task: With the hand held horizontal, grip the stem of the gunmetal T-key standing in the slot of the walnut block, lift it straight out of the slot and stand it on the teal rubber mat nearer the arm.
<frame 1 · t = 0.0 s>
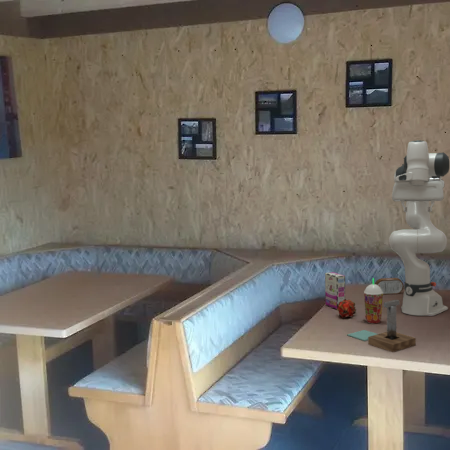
hand: (417, 211, 268), 52 cm above the table, tool tilted 20°, fingers open, 8 cm apart
dragon fruit: (346, 317, 308), on the table
gunmetal T-key: (391, 323, 264), in the walnut key-slot block
candy bar box: (335, 307, 325), on the table
smoothie: (373, 322, 298), on the table
walnut key-slot block: (391, 344, 266), on the table
digital desk clock: (389, 294, 346), on the table
teal rubber mat: (364, 335, 278), on the table
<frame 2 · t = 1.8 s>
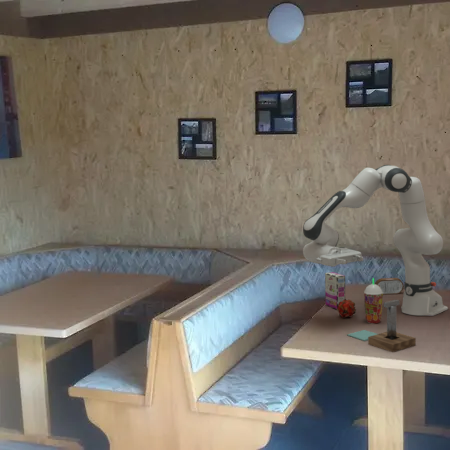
hand: (354, 260, 283), 30 cm above the table, tool horizontal, fingers open, 8 cm apart
nothing on the table moved.
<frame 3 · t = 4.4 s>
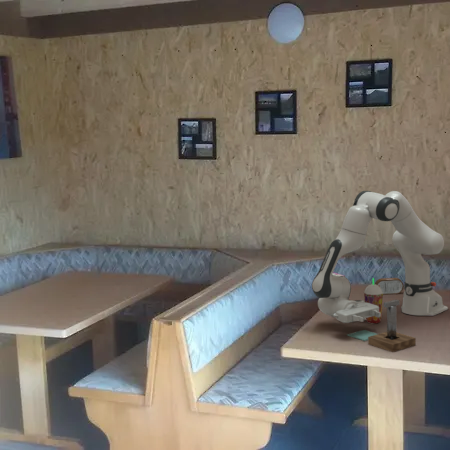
hand: (371, 317, 273), 9 cm above the table, tool horizontal, fingers open, 8 cm apart
nothing on the table moved.
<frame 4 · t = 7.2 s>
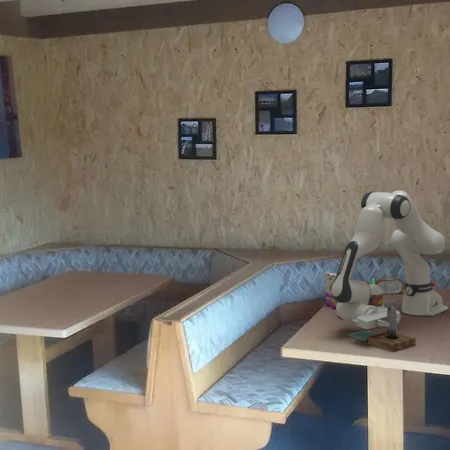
hand: (393, 323, 264), 9 cm above the table, tool horizontal, fingers closed on gunmetal T-key, 4 cm apart
gunmetal T-key: (391, 323, 264), in the walnut key-slot block, touching gripper
everything else where it was.
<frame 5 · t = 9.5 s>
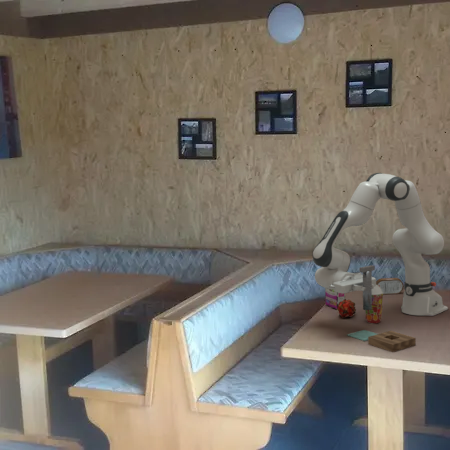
hand: (368, 287, 273), 21 cm above the table, tool horizontal, fingers closed on gunmetal T-key, 4 cm apart
gunmetal T-key: (367, 287, 274), point 21 cm above the table, touching gripper
everything else where it was.
when the fingers open (10 cm above the table, at t = 12.0 s): gunmetal T-key stays where it is, resting on teal rubber mat.
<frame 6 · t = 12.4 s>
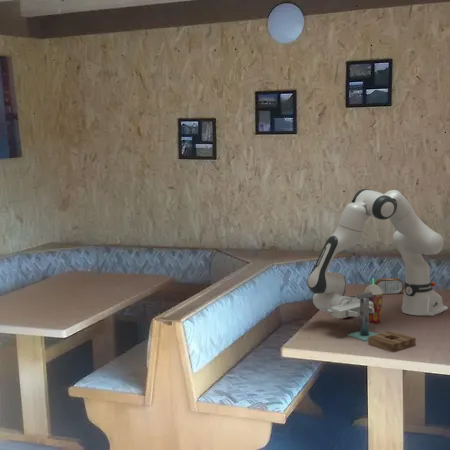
hand: (365, 312, 276), 10 cm above the table, tool horizontal, fingers open, 7 cm apart
gunmetal T-key: (364, 314, 277), on the teal rubber mat
everything else where it was.
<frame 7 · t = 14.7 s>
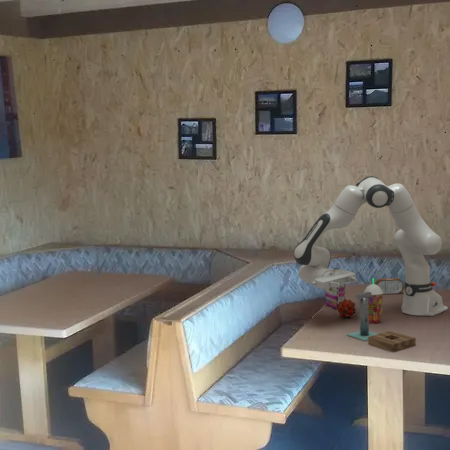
hand: (347, 283, 289), 20 cm above the table, tool horizontal, fingers open, 8 cm apart
nothing on the table moved.
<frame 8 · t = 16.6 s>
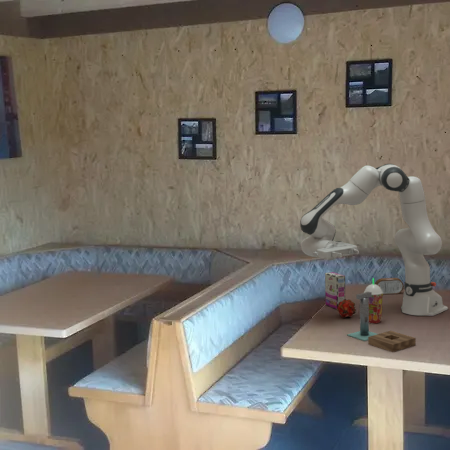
hand: (349, 254, 290), 32 cm above the table, tool horizontal, fingers open, 8 cm apart
nothing on the table moved.
at the end: gunmetal T-key inside the target area on the teal rubber mat (0.1 cm from its centre), point 9.4 cm above the teal rubber mat's base; gunmetal T-key tilted 1°; the gripper is holding nothing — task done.
